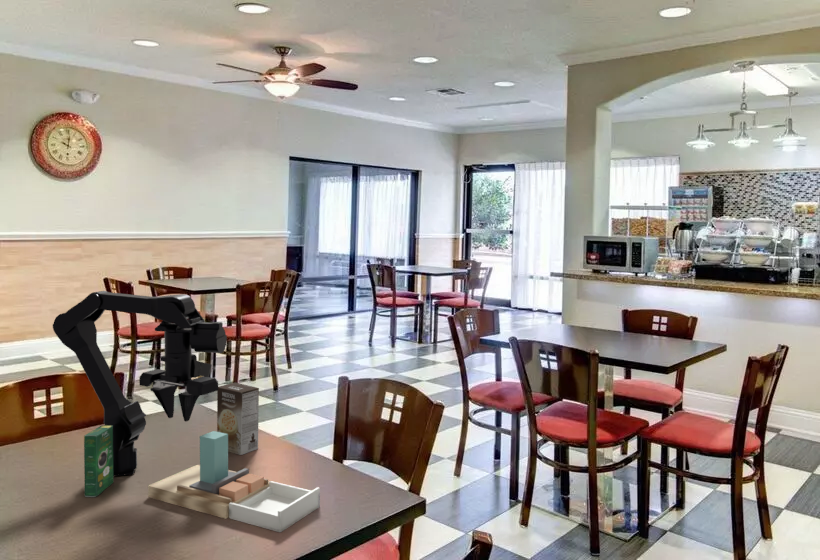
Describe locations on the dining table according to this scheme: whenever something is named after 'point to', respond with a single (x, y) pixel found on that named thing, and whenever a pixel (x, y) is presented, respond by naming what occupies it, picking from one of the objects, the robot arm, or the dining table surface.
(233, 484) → the tile
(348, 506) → the dining table surface
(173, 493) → the board
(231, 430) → the coffee box
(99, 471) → the coffee box
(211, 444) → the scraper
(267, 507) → the tray
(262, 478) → the tile
